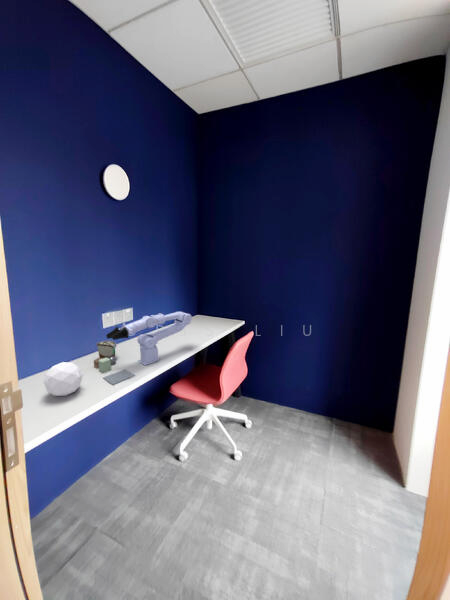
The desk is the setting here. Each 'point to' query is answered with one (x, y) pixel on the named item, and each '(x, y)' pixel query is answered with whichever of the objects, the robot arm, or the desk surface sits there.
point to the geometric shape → (63, 379)
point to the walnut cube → (96, 363)
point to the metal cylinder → (112, 360)
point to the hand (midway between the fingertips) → (109, 337)
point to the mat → (118, 377)
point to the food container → (106, 348)
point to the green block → (104, 365)
